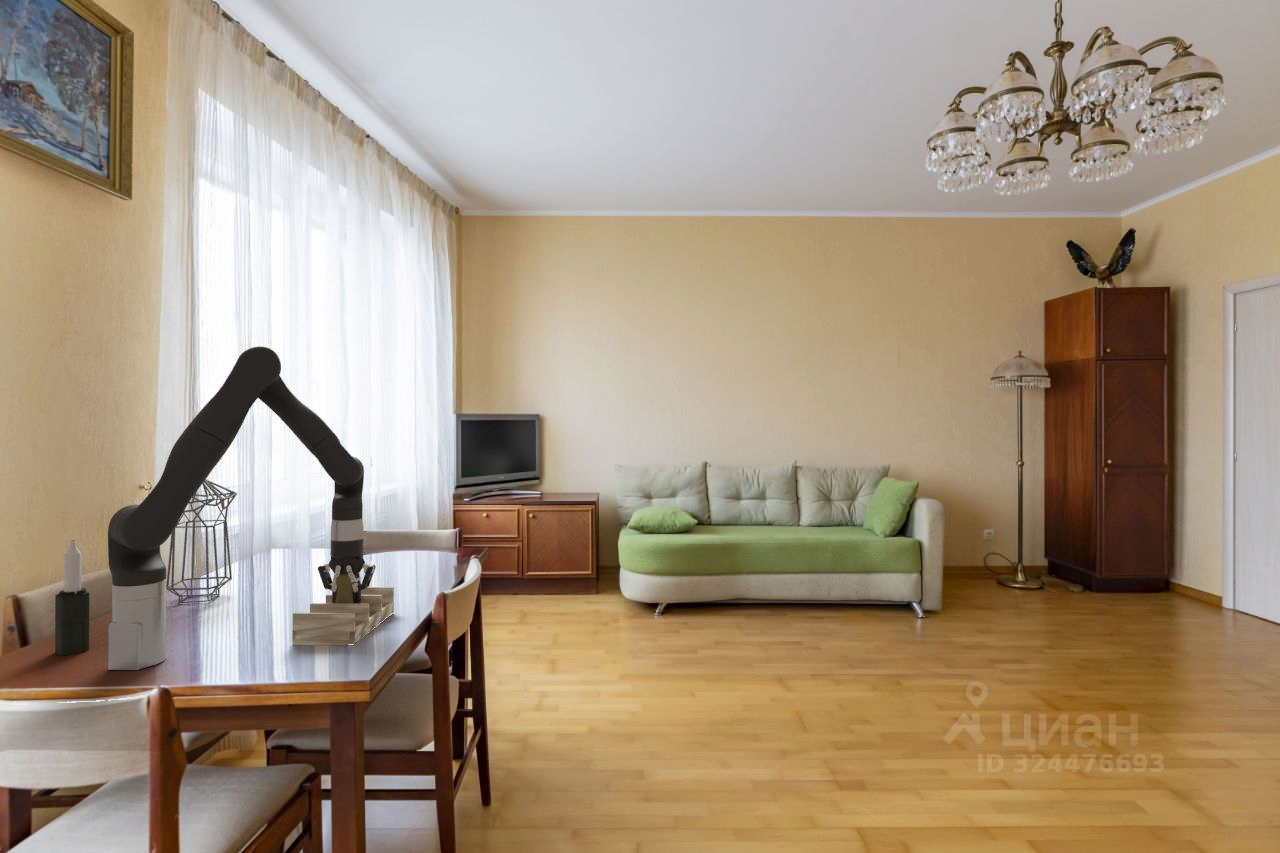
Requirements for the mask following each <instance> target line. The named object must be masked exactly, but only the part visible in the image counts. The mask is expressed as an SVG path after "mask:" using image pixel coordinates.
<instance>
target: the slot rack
mask: <svg viewBox="0 0 1280 853" xmlns="http://www.w3.org/2000/svg"><path fill="white" fill-rule="evenodd" d="M394 600H395V587H394V586H369V587H367V588H365V589H364V590H361V602H360V603H332V593H331V594H330V593H329V594H325V602H311V603H310V604H309V612H293V613H292V635H291V636H292V637H291V638H292V644H291V645H292V646H349V645H348V644H355V643H356V642H357V641H358V640H360V639H361V638H362V637H363V636H365V635H366V634H367V633H368V632H370V631H371V630H372V629H373V628H374V627H376V626H377V625H378V624H379V623H380V622H382V621H383V620H384V619H385V618H386V617H388V616H389V615H390V614H391V613H393V612H394V611H395V609H394V608H395V602H394ZM394 613H395V612H394ZM376 628H377V627H376ZM371 632H372V631H371ZM371 632H370V633H371ZM367 635H368V634H367ZM367 635H366V636H367ZM366 636H365V637H366ZM362 639H363V638H362ZM362 639H361V640H362ZM361 640H360V641H361ZM358 642H359V641H358ZM358 642H357V643H358ZM357 643H356V644H357ZM345 644H347V645H345ZM356 644H355V645H356Z"/></svg>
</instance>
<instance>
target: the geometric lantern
mask: <svg viewBox="0 0 1280 853" xmlns="http://www.w3.org/2000/svg"><path fill="white" fill-rule="evenodd" d="M202 486H203V489H204V491H203V492H204V494H198V493H197V492H198V490H197V491H196V493H195V494H194V495H193V497H192V498H191V500H190V502H189V503H188V505H190V506H189V507H190V509H185V510H184V512H183V514H182V515H181V517H180V519H179V521H178V523H177V525H176V526H175V528H174V530H173V532H172V533H171V535H170V542H169V544H170V545H169V555H168V556H169V557H168V565H167V572H166V591H168V592H170V593H172V594H174V595H175V596H177V597H178V602H177V603H178V604H189V603H192V604H193V603H203V602H211V601H213V600H215V599H216V598H218V597H219V596H221V595H220V593H221V592H220V590H221V588H223V587H224V586H225V585H226V584H228V582H230V581H231V580H233V578H232V577H233V575H232V574H233V573H232V564H231V554H230V540H229V531H228V530H229V529H228V520H227V518H228V509H229V506H230V505H231V504H232V502H233V501H234V499H235V498H236V497H237V496H238V492H235V491H233V490H231V489H229V488H227V487H224V486H222V485H220V484H218V483H216V482H213V481H211V480H208V479H207V478H206V480H205V481H204V482H203V484H202ZM217 487H218V488H220V489H222V490H224V491H227V492H225V493H223V492H222V491H221V490H220V489H218V488H217ZM197 497H204V498H206V499H199V498H197ZM209 497H211V498H209ZM215 497H216V498H215ZM226 500H227V501H226ZM213 501H214V502H215V503H214V504H213V503H212V502H213ZM218 501H219V502H218ZM225 501H226V502H227V503H226V506H225ZM195 503H201V505H198V506H197V507H196V508H193V504H195ZM219 505H221V506H219ZM206 506H211V507H216V508H218V511H219V512H220V513H219V515H218V517H217V518H216V519H209V520H207V519H205V520H203V518H202V517H201V516H200V513H201V512H202V510H203V509H204V508H205V507H206ZM220 507H221V508H220ZM197 510H198V512H197ZM224 510H225V515H224V513H223V511H224ZM192 512H193V513H194V515H195V516H194V518H193V519H192V520H190V518H188V516H187V515H186V513H192ZM183 516H184V517H185V518H186V519H187V521H186V520H183V521H181V520H182V518H184V517H183ZM221 516H222V517H223V519H220V517H221ZM197 518H198V520H196V519H197ZM199 522H200V523H201V524H202V525H196V523H199ZM206 522H214V524H212V525H207V524H206ZM217 522H218V523H217ZM189 523H191V524H192V526H191V525H188V524H189ZM182 524H185V526H183V525H182ZM222 524H223V557H224V558H223V562H224V563H223V564H224V565H223V566H224V576H219V567H218V552H217V551H218V550H217V537H216V526H220V525H222ZM180 525H182V526H180ZM184 528H185V530H184V545H183V556H182V557H183V558H182V569H181V571H182V572H181V579H180V580H178V581H176V582H175V558H176V557H175V555H176V554H175V552H176V550H175V548H176V546H175V545H176V529H184ZM189 528H191V529H192V544H191V545H192V547H191V550H192V551H191V553H192V555H191V576H190V577H189V578H185V571H186V570H185V567H186V556H187V541H188V529H189ZM196 528H197V529H198V528H205V563H206V564H205V567H206V568H205V570H206V577H205V576H204V577H195V574H194V572H195V544H196V543H195V539H196V538H195V535H196ZM209 528H212V535H213V550H214V552H213V553H214V564H215V565H214V566H215V576H210V572H209V534H208V532H209V531H208V529H209ZM227 565H228V571H227ZM227 572H229V573H228V574H229V576H228V574H227ZM170 575H171V585H170ZM219 579H222V580H221V581H220V580H219ZM225 579H226V580H225ZM194 580H195V581H196V580H198V581H199V580H206V587H193V581H194ZM210 580H216V585H213V586H210ZM185 581H190V586H189V587H188V586H187V585H186V582H185ZM180 583H182V584H183V586H184V587H175V586H177V585H179V584H180ZM211 589H212V591H211V592H210V590H211ZM194 590H196V591H197V590H199V591H202V590H204V591H205V590H206V592H207V593H204V594H193V591H194ZM178 591H183V592H182V593H179V592H178ZM189 592H190V594H189ZM185 593H186V594H185ZM194 596H195V597H206V600H205V599H204V600H194V601H193V600H190V601H184V600H186V599H187V597H188V598H191V597H192V598H193V597H194ZM210 598H211V599H210Z"/></svg>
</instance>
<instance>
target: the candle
mask: <svg viewBox="0 0 1280 853" xmlns="http://www.w3.org/2000/svg"><path fill="white" fill-rule="evenodd" d="M90 595H91V594H90V591H87V588H84V587H82V552H81V551H80V550H79V548H78V547H77V543H76V538H74V537H72V538H70V543H69V546H68V548H67V550H66V551H65V553H64V555H63V590H60V591H59V592H58V593H56V594H55V597H54V598H55V603H54V604H55V606H54V607H55V612H54V613H55V615H54V616H55V617H54V620H55V622H54V632H55V634H54V636H55V637H54V645H55V646H54V652H55V654H57V655H59V656H70V655H73V654H77V652H78V653H81V652H80V651H83V652H86V651H85V650H87V651H89V650H90V615H91V614H90V608H91V607H90V600H91V599H90V598H91V596H90ZM88 649H89V650H88Z"/></svg>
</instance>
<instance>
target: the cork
mask: <svg viewBox="0 0 1280 853" xmlns="http://www.w3.org/2000/svg"><path fill="white" fill-rule="evenodd" d="M355 578H358V576H355ZM336 585H337V586H338V587H337V596H336V602H335V603H353V597H352V592H354V591H353V587H352V585H353V583H351V579H350V577H349V575H348V574H340V575H339V576H338V577H337V578H336Z"/></svg>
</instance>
